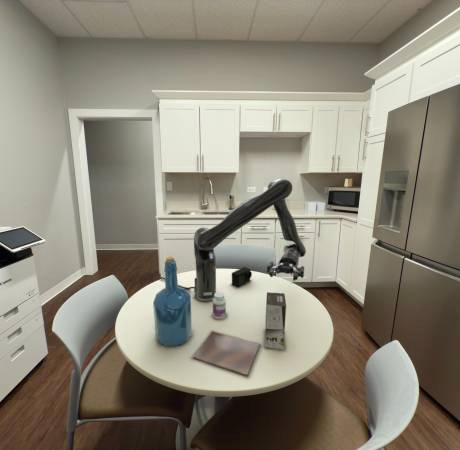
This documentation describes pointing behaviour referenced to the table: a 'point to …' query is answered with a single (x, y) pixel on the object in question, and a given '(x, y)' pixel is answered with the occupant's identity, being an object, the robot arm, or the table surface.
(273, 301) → the coffee box
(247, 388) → the table surface
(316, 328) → the table surface
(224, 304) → the pill bottle
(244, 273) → the digital camera
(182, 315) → the wine bottle
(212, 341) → the wooden board
